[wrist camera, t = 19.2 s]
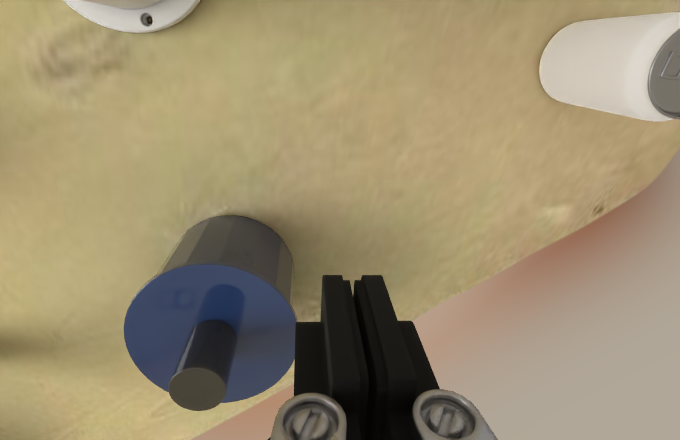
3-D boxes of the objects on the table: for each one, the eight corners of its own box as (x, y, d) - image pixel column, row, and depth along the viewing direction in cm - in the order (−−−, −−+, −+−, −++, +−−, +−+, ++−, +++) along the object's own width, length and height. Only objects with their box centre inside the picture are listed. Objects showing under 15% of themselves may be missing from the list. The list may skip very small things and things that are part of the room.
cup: (161, 303, 41) (122, 373, 32) (186, 199, 37) (150, 246, 28) (274, 331, 43) (266, 402, 35) (309, 235, 39) (310, 289, 31)
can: (590, 109, 37) (713, 135, 26) (524, 94, 36) (622, 115, 25) (624, 30, 34) (774, 23, 23) (554, 12, 33) (677, -5, 22)
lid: (117, 373, 33) (78, 441, 27) (146, 234, 29) (107, 281, 23) (272, 405, 36) (266, 473, 30) (321, 282, 31) (324, 334, 26)
